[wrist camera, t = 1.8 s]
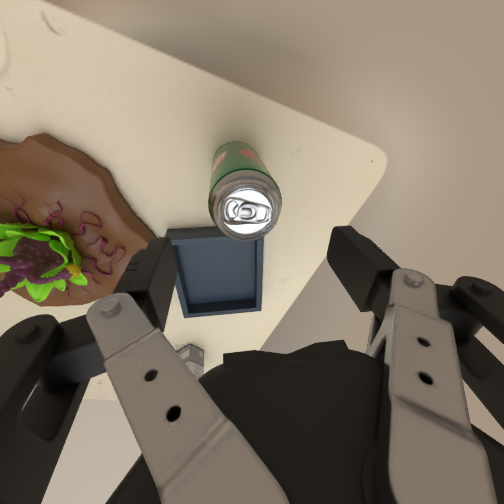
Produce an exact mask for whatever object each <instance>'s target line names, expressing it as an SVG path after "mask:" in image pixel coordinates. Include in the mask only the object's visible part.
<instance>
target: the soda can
mask: <svg viewBox="0 0 504 504" xmlns="http://www.w3.org/2000/svg"><path fill="white" fill-rule="evenodd" d="M281 206H282V197H281V193H280V190H279V187H278V186H277V184H276V182H275V181H274V179H273V178H272V176H271V174H270V173H269V171H268V170H267V168H266V167H265V165H264V164H263V162H262V161H261V159H260V158H259V156H258V155H257V153H256V152H255V150H254V149H253V148H252V147H251V146H249V145H248V144H246V143H243V142H237V141H235V142H229V143H227V144H225V145H223V146H222V147H221V148H220V149H219V150H218V151H217V152H216V154H215V156H214V159H213V165H212V174H211V183H210V192H209V200H208V208H209V213H210V216H211V218H212V220H213V222H214V223H215V224H216V226H217V227H218V228H219V229H220V230H221V231H222V232H223V233H224V234H226V235H227V236H229V237H231V238H233V239H236V240H241V241H250V240H255V239H258V238H260V237H262V236H264V235H266V234H267V233H268V232H269V231H270V230H271V229H272V228H273V227H274V226H275V224H276V222H277V220H278V217H279V214H280V211H281Z"/></svg>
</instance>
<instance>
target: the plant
mask: <svg viewBox="0 0 504 504" xmlns="http://www.w3.org/2000/svg"><path fill="white" fill-rule="evenodd" d="M151 238H156V237H155V236H154V235H153V233H152V232H151V231H150V230H149V229H148V228H147V227H146V226H145V225H144V224H143V223H142V222H141V221H140V220H139V219H138V218H137V217H136V216H135V215H134V213H133V212H132V211H131V209H130V208H129V206H128V205H127V204H126V202H125V201H124V199H123V198H122V196H121V195H120V193H119V192H118V191H117V189H116V187H115V185H114V182H113V179H112V177H111V175H110V174H109V172H108V171H107V170H105V169H103V168H101V167H100V166H98V165H97V164H96V163H94V162H93V161H92V160H91V159H90V158H89V157H87V156H86V155H85V154H83V153H82V152H80V151H78V150H76V149H73V148H71V147H68V146H66V145H64V144H62V143H60V142H59V141H57V140H55V139H54V138H52V137H51V136H49V135H48V134H46V133H42V134H38V135H33V136H29V137H27V138H26V139H25V140H24V141H23V142H22V143H21V144H13V143H7V142H4V141H1V140H0V298H1V297H2V296H3V295H4V293H5V292H7V291H9V290H12V291H13V292H15V293H17V294H18V295H20V296H22V297H23V298H25V299H27V300H29V301H31V302H33V303H35V304H37V305H38V306H41V307H42V306H67V305H83V304H87V303H90V302H93V301H95V300H98V299H100V298H102V297H105V296H107V295H110V294H112V293H113V291H114V289H115V287H116V285H117V283H118V282H119V280H120V278H121V276H122V274H123V272H125V269H126V267H127V265H128V263H129V261H130V259H131V258H132V256H133V255H134V254H135V253H137V252H138V251H139V250H140V249H146V248H147V246H148V244H149V242H150V240H151Z"/></svg>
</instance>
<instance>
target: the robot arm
mask: <svg viewBox="0 0 504 504" xmlns="http://www.w3.org/2000/svg"><path fill="white" fill-rule="evenodd" d="M327 260H328V263H329V265H330V266H331V268H332V269H333V271H334V272H335V274H336V275H337V277H338V278H339V280H340V281H341V283H342V284H343V286H344V287H345V289H346V290H347V292H348V294H349V295H350V296H351V298H352V300H353V301H354V302H355V304H356V306H357V307H358V309H359V310H360V312H368V311H372V312H373V313H374V316H373V318H372V321H371V327H370V333H369V339H368V344H367V350H366V354H364V353H361V352H358V351H354V350H350V349H348V347H347V345H346V343H345V341H344V340H336V341H328V342H319V343H314V344H312V345H309V346H307V347H304V348H302V349H299V350H297V351H295V352H292V353H289V354H279V353H272V352H264V351H257V350H251V351H242V352H234V353H225V354H223V364H221V365H219V366H217V367H215V368H213V369H211V370H209V371H208V372H206V373H205V374H204V375H202V376H201V377H200V378H199V379H198V380H197V379H196V377H195V376H194V375H193V373H192V372H191V371H190V369H189V368H188V367H187V365H186V364H185V363H184V361H183V360H182V358H181V357H180V356H179V354H178V353H177V352H176V350H175V349H174V348H173V346H172V345H171V344H170V342H169V341H168V340H167V338H166V337H165V336H164V334H163V333H162V332H164V328H165V324H166V320H167V316H168V311H169V307H170V303H171V298H172V294H173V290H174V286H175V281H176V277H177V264H176V260H175V256H174V252H173V247H172V243H171V240H170V238H169V237H157V238H151V240H150V242H149V244H148V246H147V248H146V249H140V250H139V251H138V252H137V253H135V254H134V255H133V256H132V258H131V259H130V261H129V263H128V265H127V267H126V269H125V272H123V274H122V276H121V278H120V280H119V282H118V283H117V285H116V287H115V289H114V291H113V293H112V294H110V295H107V296H105V297H103V298H101V299H99V300H98V301H96V302H95V303H94V304H93V305H92V306H91V307H90V308H89V310H88V311H87V314H86V315H83V316H80V317H77V318H74V319H70V320H67V321H64V322H61V323H59V322H58V321H57V320H56V319H55V317H54V316H52V315H47V314H43V315H37V316H33V317H30V318H27V319H25V320H23V321H21V322H19V323H17V324H16V325H14V326H12V327H11V328H10V329H8V330H7V331H6V332H5V333H4V334H3V335H2V336H1V337H0V504H41V502H42V500H43V497H44V494H45V492H46V489H47V487H48V484H49V482H50V479H51V477H52V474H53V472H54V469H55V467H56V464H57V462H58V459H59V456H60V454H61V451H62V449H63V446H64V444H65V441H66V439H67V436H68V434H69V431H70V429H71V426H72V424H73V421H74V419H75V416H76V413H77V411H78V409H79V405H80V403H81V401H82V398H83V396H84V393H85V391H86V388H87V386H88V383H89V381H90V378H92V377H95V376H97V375H99V374H102V373H104V372H107V374H108V376H109V378H110V380H111V383H112V385H113V387H114V390H115V392H116V394H117V397H118V399H119V401H120V403H121V406H122V408H123V410H124V413H125V415H126V417H127V419H128V422H129V424H130V426H131V429H132V431H133V433H134V435H135V438H136V440H137V442H138V445H139V447H140V449H141V452H142V454H141V456H140V457H139V458H138V460H137V461H136V462H135V464H134V465H133V466H132V468H131V469H130V471H129V472H128V473H127V475H126V476H125V477H124V479H123V480H122V481H121V483H120V484H119V486H118V487H117V488H116V490H115V491H114V492H113V494H112V495H111V496H110V498H109V499H108V501H107V502H106V503H105V504H504V446H503V445H502V444H500V443H499V442H497V441H496V440H494V439H493V438H492V437H490V436H489V435H487V434H486V433H484V432H483V431H481V430H480V429H478V428H477V427H476V426H474V425H473V424H471V423H470V418H469V413H468V408H467V402H466V397H465V391H464V386H463V380H464V381H465V382H466V384H467V385H468V386H469V387H470V388H471V390H472V391H473V392H474V393H475V394H476V396H477V397H478V398H479V399H480V401H481V402H482V403H483V405H484V406H485V407H486V408H487V409H488V411H489V412H490V413H491V414H492V416H493V417H494V418H495V419H496V421H497V422H498V423H499V424H500V426H501V427H502V428H503V429H504V365H503V364H502V363H501V362H500V361H499V360H498V359H497V358H496V357H495V356H494V355H493V354H492V353H491V352H490V351H489V350H488V349H487V348H486V347H485V346H484V345H483V344H482V343H481V342H480V341H479V340H478V339H477V338H476V337H475V336H474V335H475V334H476V333H477V332H478V331H479V329H481V328H482V327H483V326H484V327H485V328H486V329H488V330H489V331H490V332H491V333H492V334H493V335H494V336H495V337H496V338H497V339H498V340H499V341H501V342H502V343H503V344H504V291H502V290H501V289H500V288H498V287H497V286H495V285H493V284H492V283H490V282H487V281H485V280H482V279H479V278H475V277H470V276H463V277H460V278H458V279H457V281H456V282H455V283H454V285H453V286H448V285H440V284H434V282H433V281H432V280H431V279H430V278H429V277H428V276H426V275H425V274H423V273H421V272H418V271H415V270H411V269H404V268H400V267H399V266H398V265H397V264H396V263H395V262H394V261H393V260H392V259H391V258H389V256H387V255H386V254H385V253H384V252H382V250H381V249H380V248H379V247H377V245H376V244H375V243H373V242H372V241H371V240H370V239H368V238H366V237H364V236H363V235H360V234H359V233H358V232H357V231H356V230H355V229H354V228H353V227H352V226H336V227H334V228H333V230H332V233H331V238H330V242H329V246H328V251H327ZM462 379H463V380H462ZM36 384H37V386H36V387H35V385H36ZM34 387H35V389H34ZM33 389H34V391H33ZM32 391H33V393H32V394H31V392H32ZM30 394H31V396H30ZM29 396H30V398H29ZM28 398H29V400H28V401H27V399H28ZM26 401H27V403H26ZM25 403H26V405H25ZM24 405H25V407H24V408H23V406H24ZM22 409H23V410H22Z"/></svg>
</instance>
